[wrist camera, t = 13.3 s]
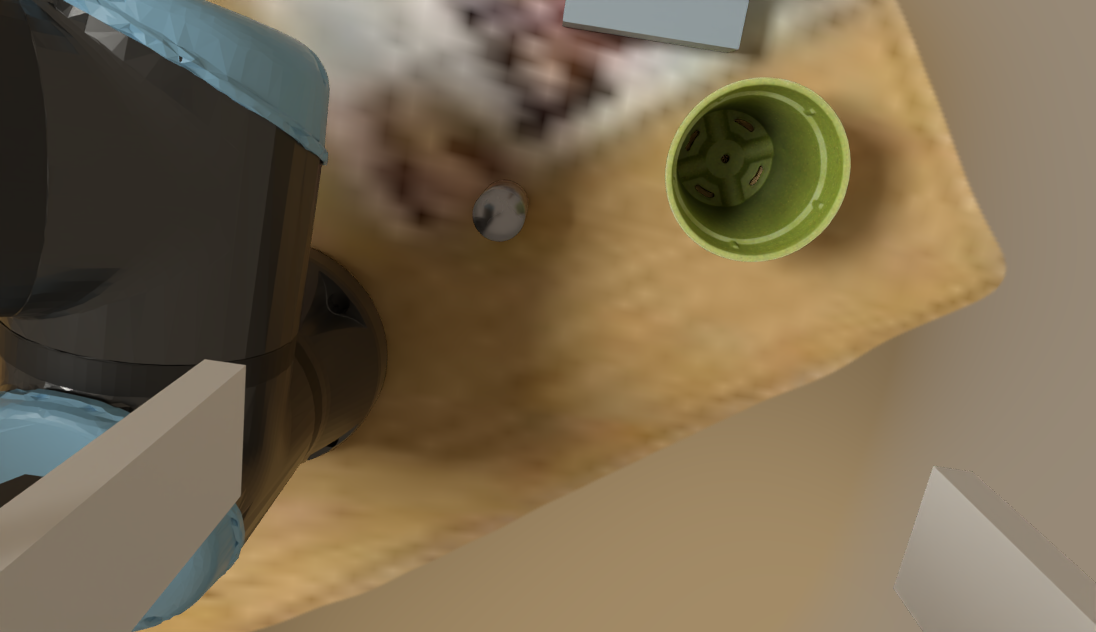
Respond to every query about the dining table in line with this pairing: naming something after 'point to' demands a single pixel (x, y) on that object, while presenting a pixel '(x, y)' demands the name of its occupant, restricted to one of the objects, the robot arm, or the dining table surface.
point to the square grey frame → (663, 20)
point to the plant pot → (785, 183)
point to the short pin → (501, 210)
